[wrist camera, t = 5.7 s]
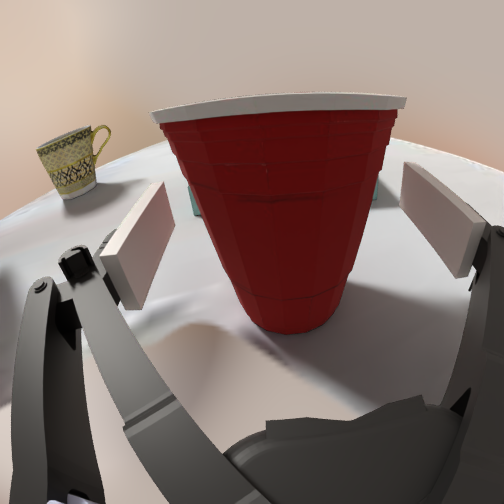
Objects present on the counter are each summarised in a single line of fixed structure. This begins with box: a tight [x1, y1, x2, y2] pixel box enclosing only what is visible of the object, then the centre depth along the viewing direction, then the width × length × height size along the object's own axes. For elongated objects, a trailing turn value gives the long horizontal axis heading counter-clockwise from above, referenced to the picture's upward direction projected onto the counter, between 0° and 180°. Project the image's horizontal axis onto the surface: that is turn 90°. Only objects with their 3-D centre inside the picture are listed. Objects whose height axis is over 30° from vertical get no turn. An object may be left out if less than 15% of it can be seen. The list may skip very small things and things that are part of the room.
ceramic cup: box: [36, 125, 111, 200], centre depth 40 cm, size 13×10×10 cm
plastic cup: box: [149, 92, 407, 335], centre depth 14 cm, size 11×11×12 cm
